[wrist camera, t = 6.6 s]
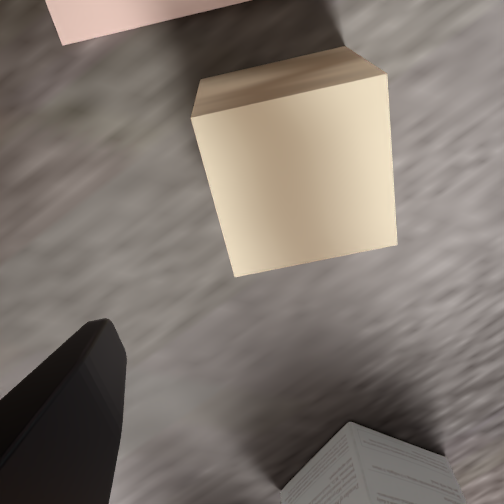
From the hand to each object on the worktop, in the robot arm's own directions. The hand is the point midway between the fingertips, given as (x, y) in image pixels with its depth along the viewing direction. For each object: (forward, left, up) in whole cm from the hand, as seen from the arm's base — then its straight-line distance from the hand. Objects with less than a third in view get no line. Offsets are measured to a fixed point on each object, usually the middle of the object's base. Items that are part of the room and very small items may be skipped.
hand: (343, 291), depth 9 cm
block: (0, 0, -10) cm, 10 cm away
